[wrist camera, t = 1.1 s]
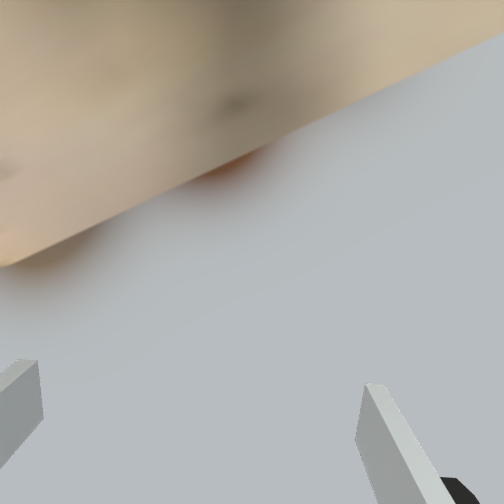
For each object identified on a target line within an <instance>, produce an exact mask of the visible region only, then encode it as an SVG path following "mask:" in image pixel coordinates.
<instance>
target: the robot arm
mask: <svg viewBox="0 0 504 504" xmlns="http://www.w3.org/2000/svg"><path fill="white" fill-rule="evenodd" d="M43 419H44V418H43V408H42V398H41V388H40V378H39V369H38V361H37V360H23V359H18V360H17V361H15V362H14V363H13V364H12V365H10V366H9V367H8V368H7V369H5V370H4V371H3V372H2V373H0V469H1V467H2V466H3V465H4V464H5V463H6V462H7V461H8V459H9V458H10V457H11V456H12V455H13V454H14V452H15V451H16V450H17V449H18V448H19V447H20V445H21V444H22V443H23V442H24V441H25V440H26V439H27V437H28V436H29V435H30V434H31V433H32V432H33V430H34V429H35V428H36V427H37V426H38V424H39V423H40V422H41V421H42V420H43ZM355 441H356V444H357V447H358V450H359V452H360V455H361V458H362V461H363V463H364V466H365V469H366V471H367V474H368V477H369V480H370V483H371V485H372V488H373V491H374V493H375V496H376V499H377V502H378V504H480V503H479V502H478V500H477V499H476V497H475V496H474V495H473V494H472V493H471V492H470V491H469V490H468V489H467V488H466V487H465V486H464V485H463V484H462V483H461V482H460V481H459V480H458V479H457V478H446V477H445V478H444V477H439V476H438V474H437V472H436V470H435V469H434V467H433V465H432V464H431V462H430V460H429V459H428V457H427V455H426V454H425V452H424V450H423V449H422V448H421V445H420V444H419V442H418V441H417V439H416V437H415V435H414V434H413V432H412V431H411V429H410V427H409V425H408V424H407V422H406V420H405V419H404V417H403V415H402V414H401V412H400V411H399V409H398V407H397V405H396V404H395V402H394V400H393V399H392V397H391V395H390V394H389V392H388V390H387V389H386V387H385V385H382V384H368V383H365V387H364V392H363V398H362V404H361V409H360V415H359V420H358V426H357V432H356V437H355Z"/></svg>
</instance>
